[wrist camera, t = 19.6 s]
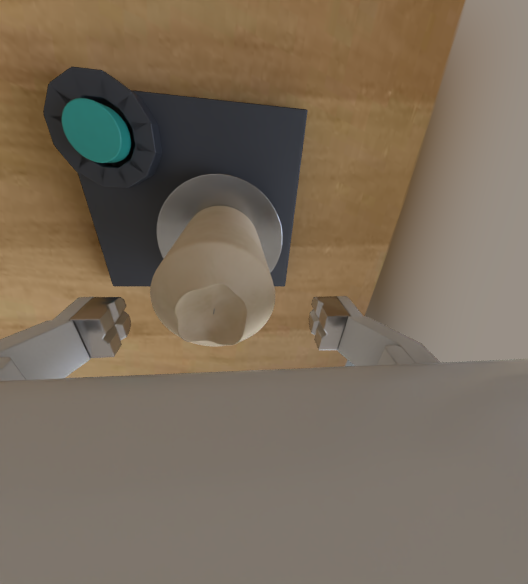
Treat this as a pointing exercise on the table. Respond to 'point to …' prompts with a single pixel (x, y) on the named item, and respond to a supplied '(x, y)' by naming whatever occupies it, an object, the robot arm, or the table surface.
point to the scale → (174, 162)
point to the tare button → (96, 131)
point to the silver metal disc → (220, 193)
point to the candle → (214, 280)
